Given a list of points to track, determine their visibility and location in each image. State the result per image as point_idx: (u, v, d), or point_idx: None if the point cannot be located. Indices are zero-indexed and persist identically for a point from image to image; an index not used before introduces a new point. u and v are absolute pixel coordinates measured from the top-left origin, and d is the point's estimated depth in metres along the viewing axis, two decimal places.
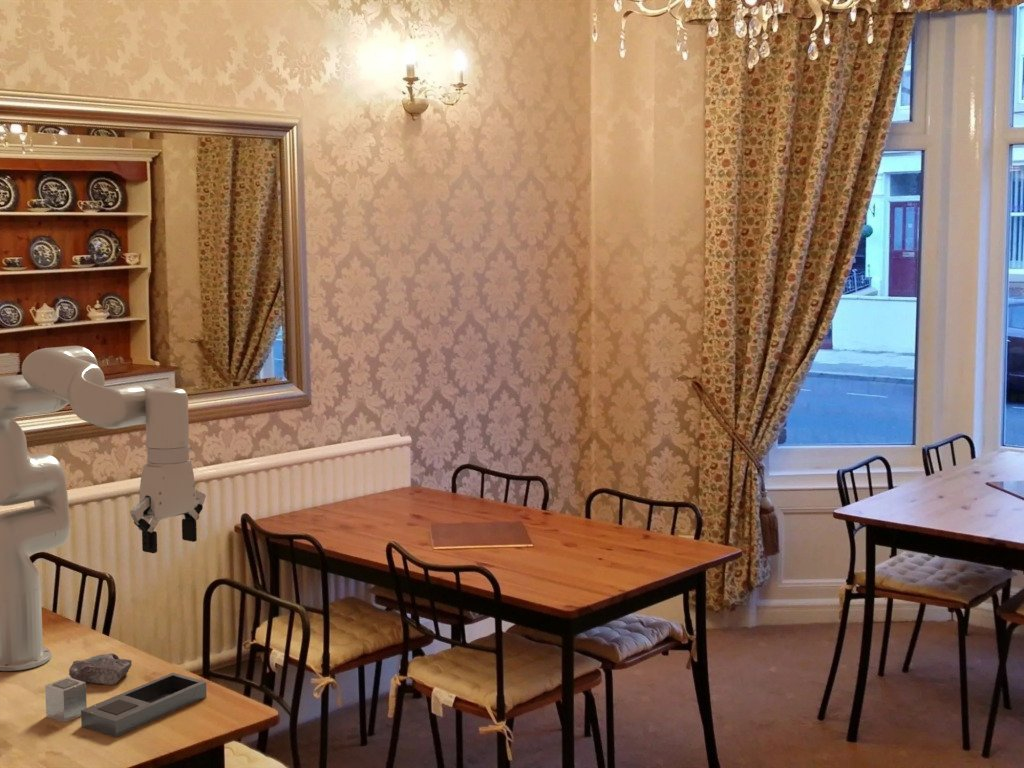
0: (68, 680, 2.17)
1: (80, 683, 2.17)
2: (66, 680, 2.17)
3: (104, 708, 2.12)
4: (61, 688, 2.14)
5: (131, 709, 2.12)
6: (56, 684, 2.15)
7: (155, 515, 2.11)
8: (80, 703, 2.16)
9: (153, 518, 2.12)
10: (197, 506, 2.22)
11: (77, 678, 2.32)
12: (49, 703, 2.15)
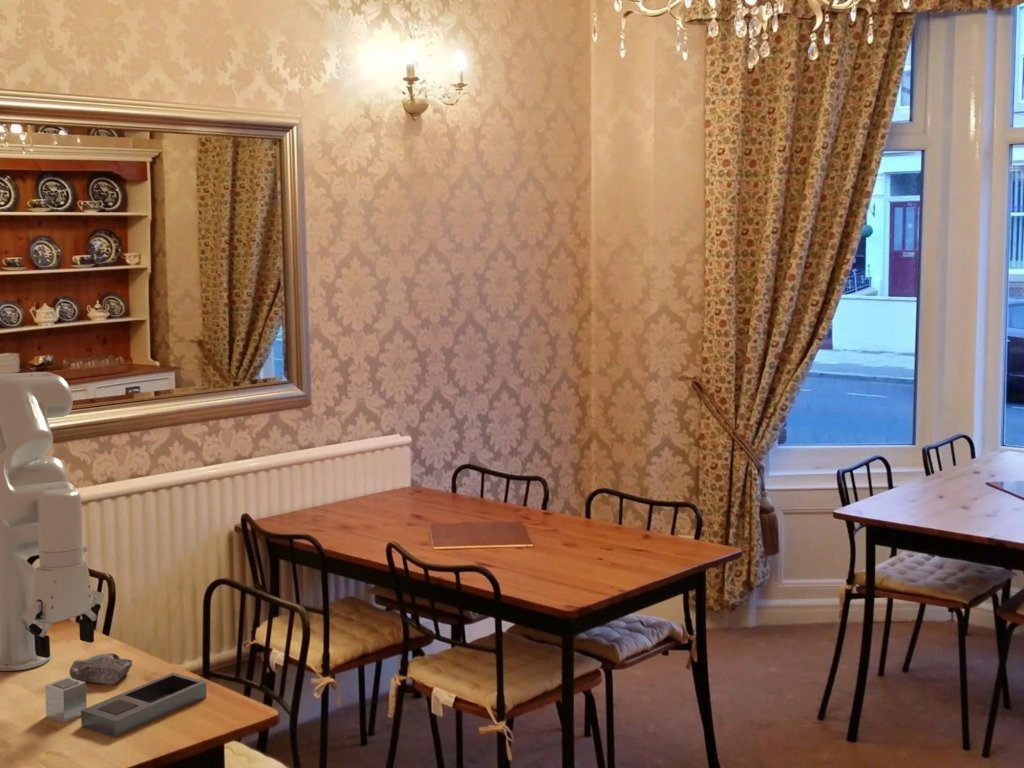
0: (68, 680, 2.17)
1: (80, 683, 2.17)
2: (66, 680, 2.17)
3: (104, 708, 2.12)
4: (61, 688, 2.14)
5: (131, 709, 2.12)
6: (56, 684, 2.15)
7: (47, 619, 2.09)
8: (80, 703, 2.16)
9: (45, 622, 2.09)
10: (95, 606, 2.20)
11: (77, 678, 2.32)
12: (49, 703, 2.15)
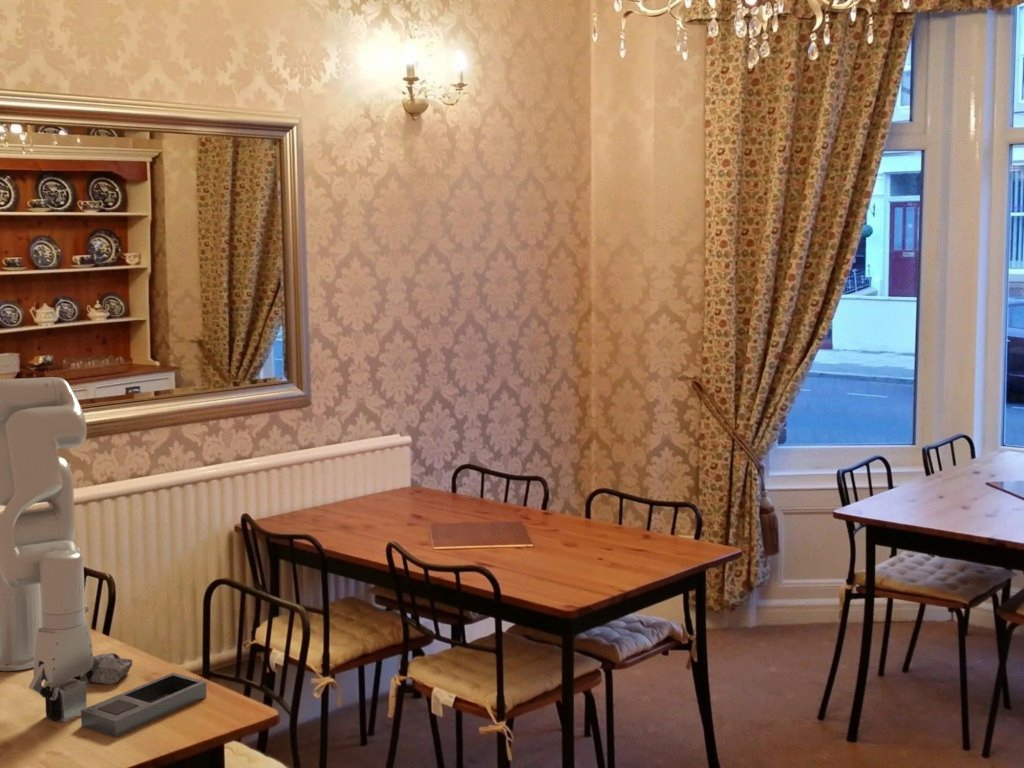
0: (68, 680, 2.17)
1: (80, 683, 2.16)
2: (66, 680, 2.17)
3: (104, 708, 2.12)
4: (61, 688, 2.14)
5: (131, 709, 2.12)
6: None
7: (48, 681, 2.11)
8: (80, 703, 2.16)
9: (52, 686, 2.12)
10: (87, 673, 2.20)
11: None
12: None
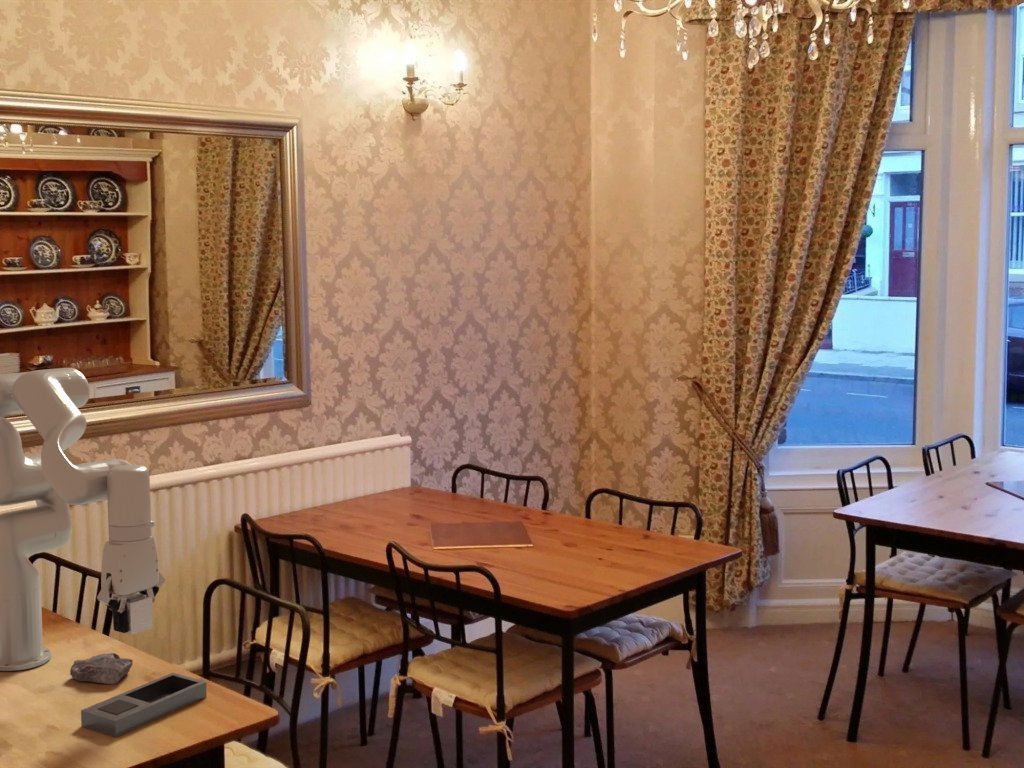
0: (134, 594, 2.19)
1: (146, 597, 2.18)
2: (132, 594, 2.19)
3: (104, 708, 2.12)
4: (128, 601, 2.16)
5: (131, 709, 2.12)
6: None
7: (116, 592, 2.13)
8: (146, 617, 2.18)
9: (120, 599, 2.14)
10: (153, 588, 2.21)
11: (78, 678, 2.32)
12: None
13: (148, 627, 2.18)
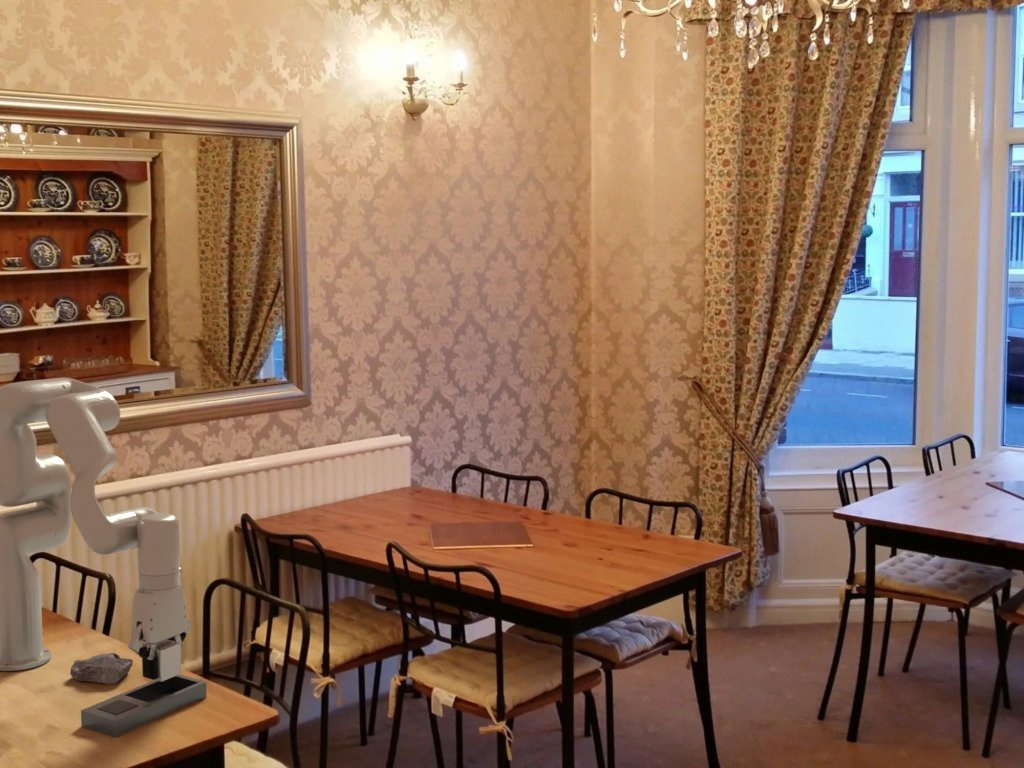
0: (163, 641, 2.22)
1: (175, 643, 2.21)
2: (161, 641, 2.22)
3: (104, 708, 2.12)
4: (158, 648, 2.19)
5: (131, 709, 2.12)
6: None
7: (146, 641, 2.16)
8: (175, 663, 2.21)
9: (150, 646, 2.17)
10: (181, 634, 2.25)
11: (78, 677, 2.32)
12: None
13: (177, 673, 2.22)
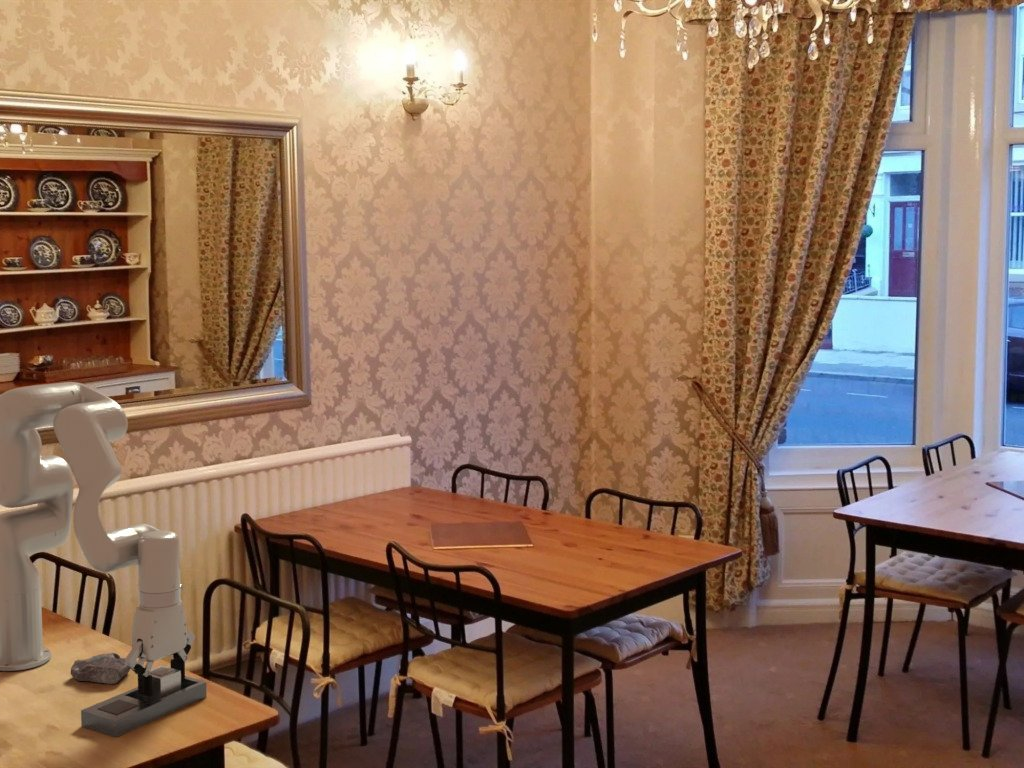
0: (163, 668, 2.23)
1: (175, 671, 2.22)
2: (161, 668, 2.23)
3: (104, 708, 2.12)
4: (158, 676, 2.20)
5: (131, 709, 2.12)
6: (152, 672, 2.21)
7: (147, 658, 2.16)
8: (175, 690, 2.22)
9: (147, 662, 2.17)
10: (186, 646, 2.26)
11: (79, 677, 2.32)
12: None
13: None
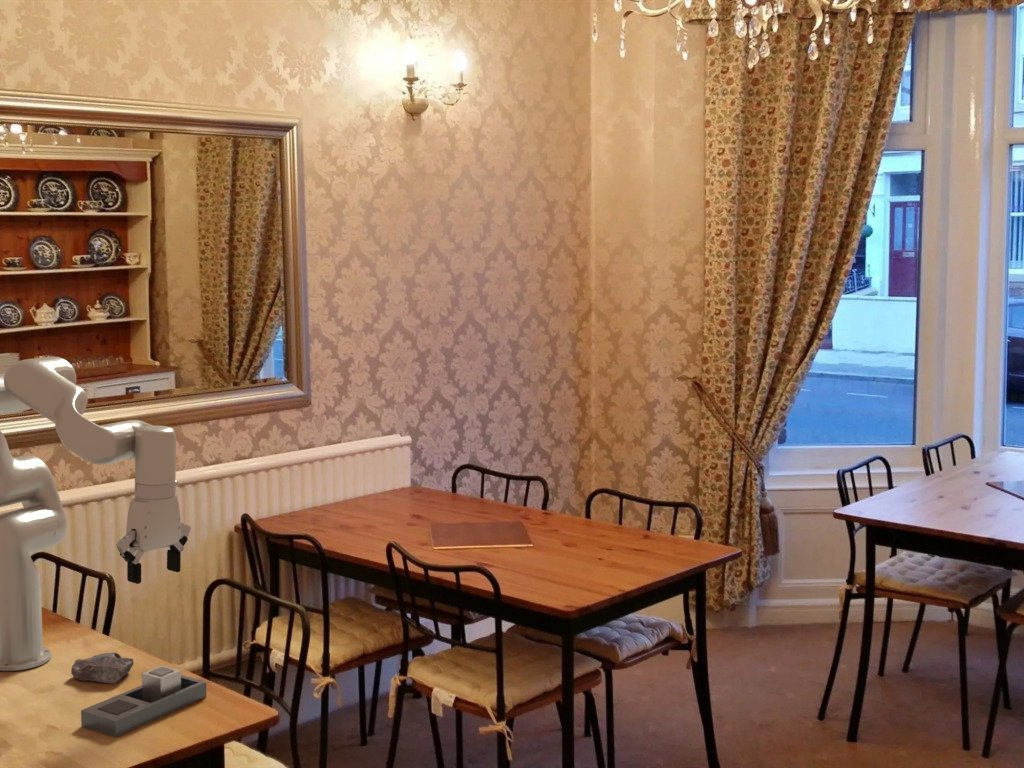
0: (163, 668, 2.23)
1: (175, 671, 2.22)
2: (161, 668, 2.23)
3: (104, 708, 2.12)
4: (158, 676, 2.20)
5: (131, 709, 2.12)
6: (152, 672, 2.21)
7: (140, 548, 2.21)
8: (175, 690, 2.22)
9: (138, 550, 2.22)
10: (182, 538, 2.32)
11: (79, 677, 2.32)
12: (146, 690, 2.21)
13: None
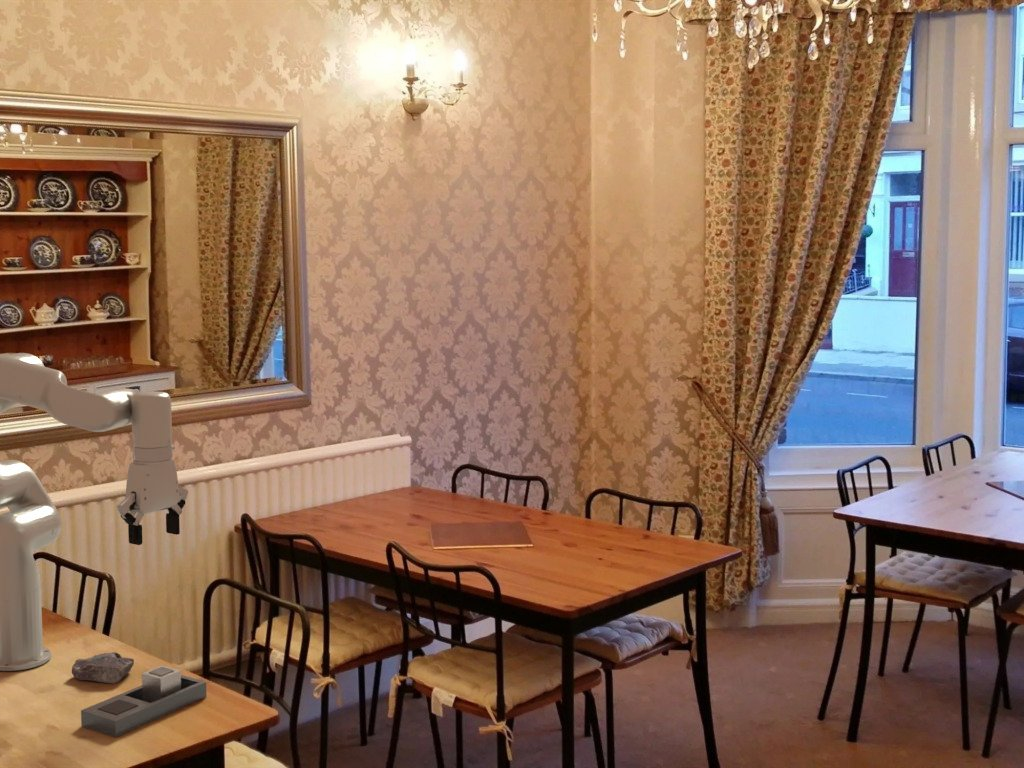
0: (163, 668, 2.23)
1: (175, 671, 2.22)
2: (161, 668, 2.23)
3: (104, 708, 2.12)
4: (158, 676, 2.20)
5: (131, 709, 2.12)
6: (152, 672, 2.21)
7: (140, 509, 2.28)
8: (175, 690, 2.22)
9: (138, 512, 2.28)
10: (180, 501, 2.38)
11: (79, 677, 2.33)
12: (146, 690, 2.21)
13: None
